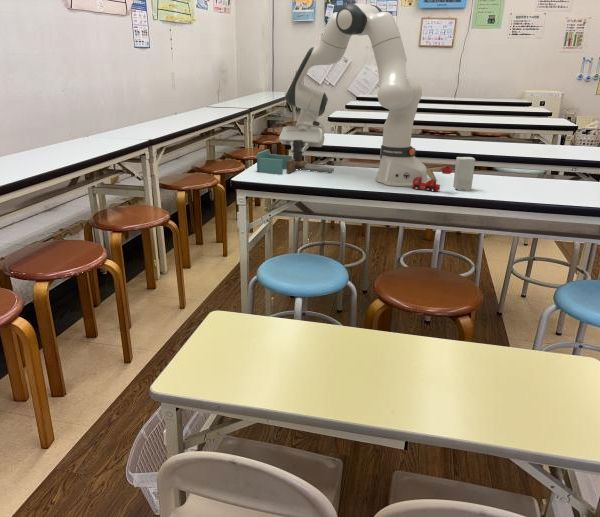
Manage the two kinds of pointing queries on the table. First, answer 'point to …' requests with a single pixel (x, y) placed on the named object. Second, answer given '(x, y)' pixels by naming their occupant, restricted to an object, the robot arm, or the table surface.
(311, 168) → the kicker rail
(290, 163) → the slide kicker
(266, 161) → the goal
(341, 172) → the table surface
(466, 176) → the skincare box
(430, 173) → the toy fire truck
